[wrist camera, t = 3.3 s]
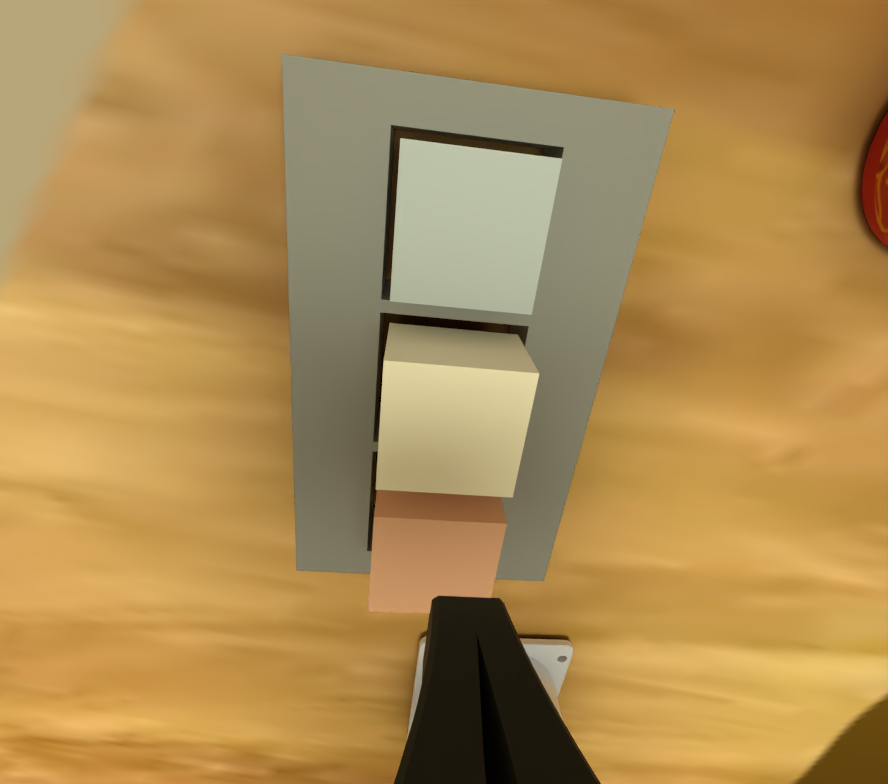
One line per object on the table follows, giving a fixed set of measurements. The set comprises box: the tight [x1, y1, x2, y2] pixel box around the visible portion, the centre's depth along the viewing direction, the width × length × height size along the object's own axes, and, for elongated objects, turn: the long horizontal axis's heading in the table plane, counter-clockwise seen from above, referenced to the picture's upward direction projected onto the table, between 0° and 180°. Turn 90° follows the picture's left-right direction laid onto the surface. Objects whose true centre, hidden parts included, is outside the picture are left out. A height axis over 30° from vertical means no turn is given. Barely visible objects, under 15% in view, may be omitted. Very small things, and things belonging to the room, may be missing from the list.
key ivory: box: [376, 323, 539, 498], centre depth 14 cm, size 4×4×3 cm
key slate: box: [390, 138, 562, 315], centre depth 14 cm, size 4×4×3 cm
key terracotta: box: [368, 490, 507, 614], centre depth 17 cm, size 4×4×3 cm
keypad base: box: [282, 54, 675, 581], centre depth 17 cm, size 17×10×2 cm, turn 173°
